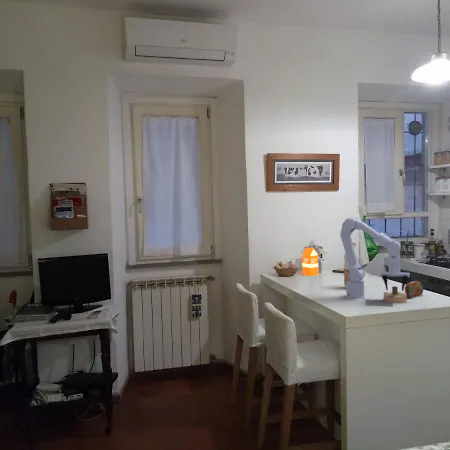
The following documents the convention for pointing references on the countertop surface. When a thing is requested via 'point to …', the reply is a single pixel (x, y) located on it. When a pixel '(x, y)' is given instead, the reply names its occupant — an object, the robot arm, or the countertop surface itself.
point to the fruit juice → (346, 267)
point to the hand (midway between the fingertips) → (394, 290)
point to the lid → (395, 293)
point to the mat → (378, 303)
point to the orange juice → (310, 262)
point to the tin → (414, 289)
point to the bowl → (395, 299)
